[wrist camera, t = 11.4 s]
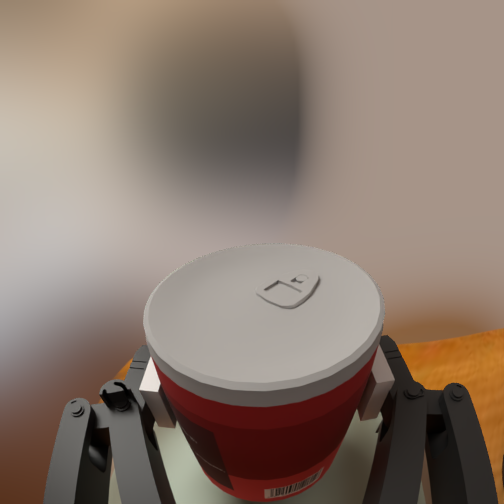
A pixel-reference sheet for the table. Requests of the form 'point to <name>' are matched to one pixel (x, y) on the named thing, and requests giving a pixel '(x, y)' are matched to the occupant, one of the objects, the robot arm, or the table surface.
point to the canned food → (265, 361)
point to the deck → (311, 500)
